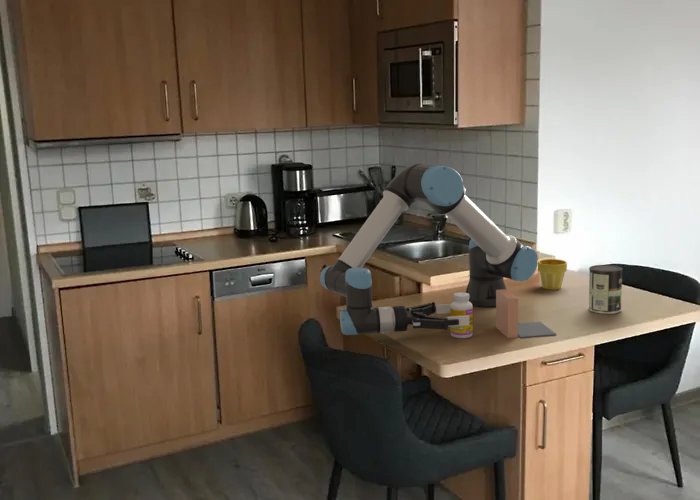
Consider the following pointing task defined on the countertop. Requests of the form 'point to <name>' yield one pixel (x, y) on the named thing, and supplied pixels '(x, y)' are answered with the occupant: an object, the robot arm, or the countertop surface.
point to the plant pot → (552, 273)
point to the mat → (533, 330)
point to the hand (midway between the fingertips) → (462, 313)
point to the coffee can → (605, 289)
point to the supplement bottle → (461, 308)
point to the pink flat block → (507, 313)
